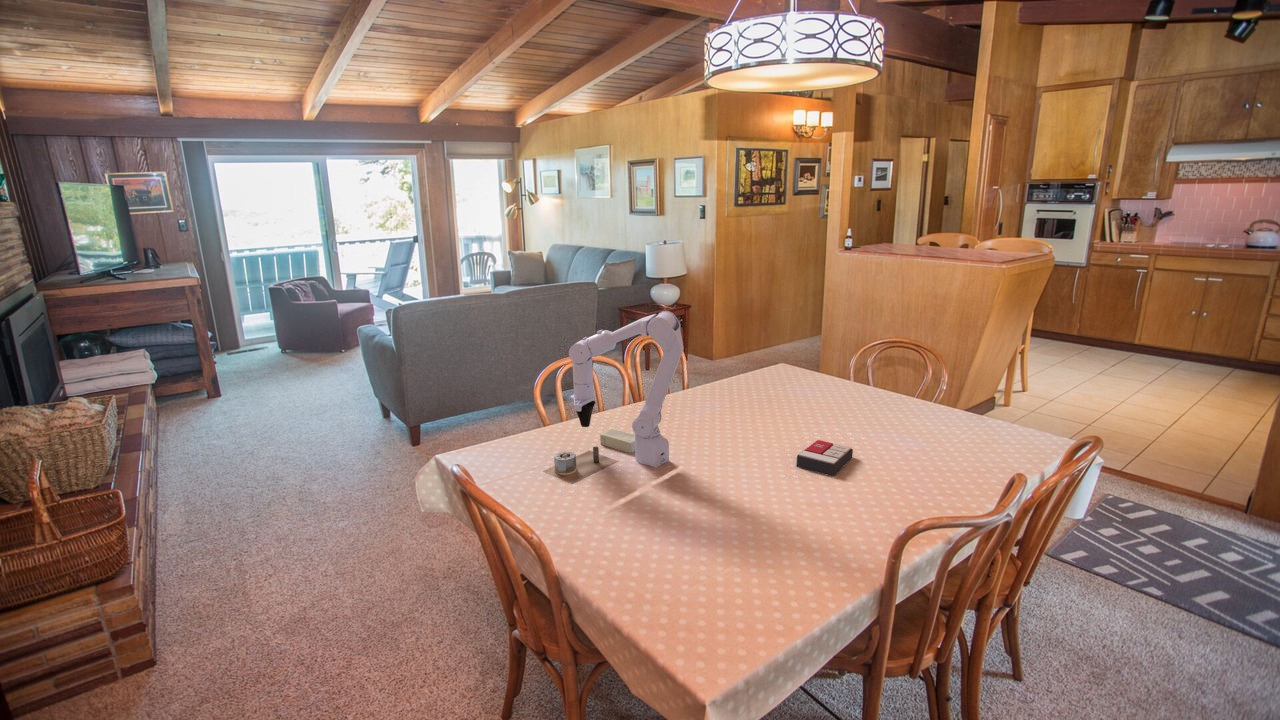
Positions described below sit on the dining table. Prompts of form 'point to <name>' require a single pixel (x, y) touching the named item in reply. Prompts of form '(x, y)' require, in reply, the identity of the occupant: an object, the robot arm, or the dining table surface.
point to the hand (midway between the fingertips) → (585, 426)
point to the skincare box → (618, 440)
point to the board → (583, 466)
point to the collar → (565, 462)
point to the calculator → (824, 457)
